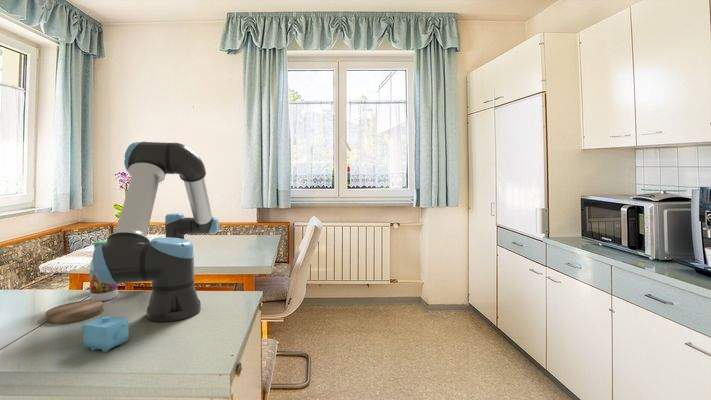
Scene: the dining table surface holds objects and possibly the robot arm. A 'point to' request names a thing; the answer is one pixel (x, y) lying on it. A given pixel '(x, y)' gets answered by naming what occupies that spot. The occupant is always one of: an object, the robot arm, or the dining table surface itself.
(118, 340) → the light blue box
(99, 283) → the milk bottle
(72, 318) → the brown round coaster
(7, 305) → the dining table surface
